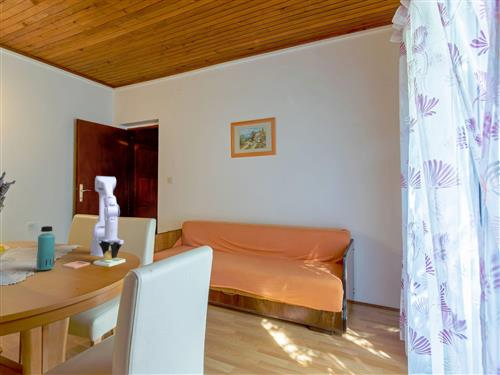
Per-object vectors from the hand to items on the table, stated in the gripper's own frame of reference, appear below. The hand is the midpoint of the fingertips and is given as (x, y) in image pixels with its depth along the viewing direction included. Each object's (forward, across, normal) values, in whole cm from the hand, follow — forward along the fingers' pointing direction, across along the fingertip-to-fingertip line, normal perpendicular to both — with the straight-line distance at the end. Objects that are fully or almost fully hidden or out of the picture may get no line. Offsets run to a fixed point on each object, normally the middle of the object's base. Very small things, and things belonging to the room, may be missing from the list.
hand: (109, 257), depth 136 cm
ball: (+2, 0, 0) cm, 2 cm away
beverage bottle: (+4, -15, -21) cm, 26 cm away
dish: (+3, -10, -10) cm, 15 cm away
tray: (+3, 0, 0) cm, 3 cm away
